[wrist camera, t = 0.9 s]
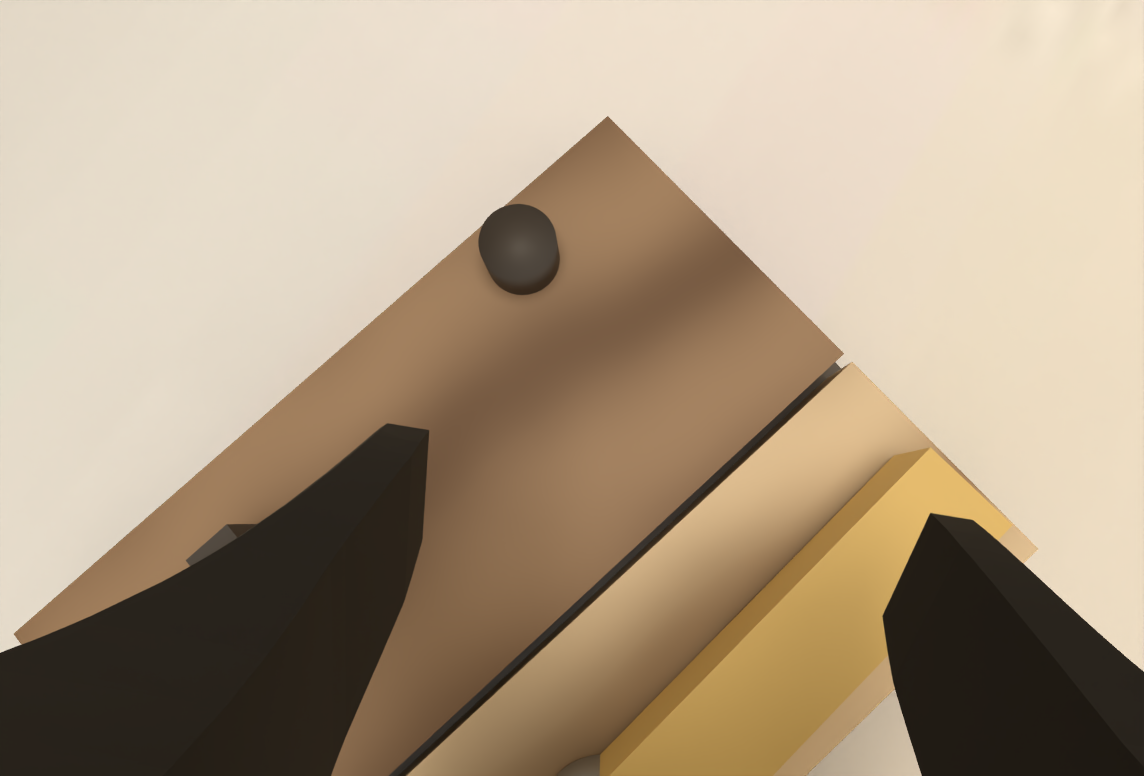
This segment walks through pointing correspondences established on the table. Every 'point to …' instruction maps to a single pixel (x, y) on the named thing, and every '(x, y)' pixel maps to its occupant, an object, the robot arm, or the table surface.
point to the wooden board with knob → (560, 472)
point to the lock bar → (795, 637)
